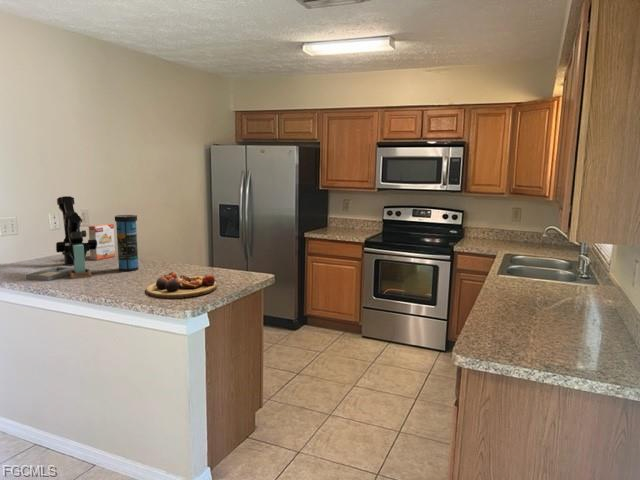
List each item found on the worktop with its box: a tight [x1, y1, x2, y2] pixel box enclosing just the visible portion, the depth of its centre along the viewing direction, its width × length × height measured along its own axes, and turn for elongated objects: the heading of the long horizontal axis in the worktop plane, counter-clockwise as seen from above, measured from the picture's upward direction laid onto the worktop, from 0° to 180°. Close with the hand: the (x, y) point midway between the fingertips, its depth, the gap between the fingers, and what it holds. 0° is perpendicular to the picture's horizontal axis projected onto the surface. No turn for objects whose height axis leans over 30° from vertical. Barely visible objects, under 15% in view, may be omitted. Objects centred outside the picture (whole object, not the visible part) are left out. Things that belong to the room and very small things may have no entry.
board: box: [25, 266, 74, 281], centre depth 235 cm, size 14×20×2 cm
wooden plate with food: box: [145, 271, 218, 299], centre depth 212 cm, size 32×32×8 cm
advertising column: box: [114, 214, 139, 273], centre depth 247 cm, size 11×11×30 cm
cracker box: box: [88, 223, 116, 261], centre depth 278 cm, size 14×6×21 cm, turn 157°
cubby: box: [68, 268, 92, 280], centre depth 234 cm, size 9×9×2 cm
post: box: [73, 244, 86, 273], centre depth 233 cm, size 4×4×14 cm
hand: (79, 258), depth 232 cm, fingers closed on post, 4 cm apart
